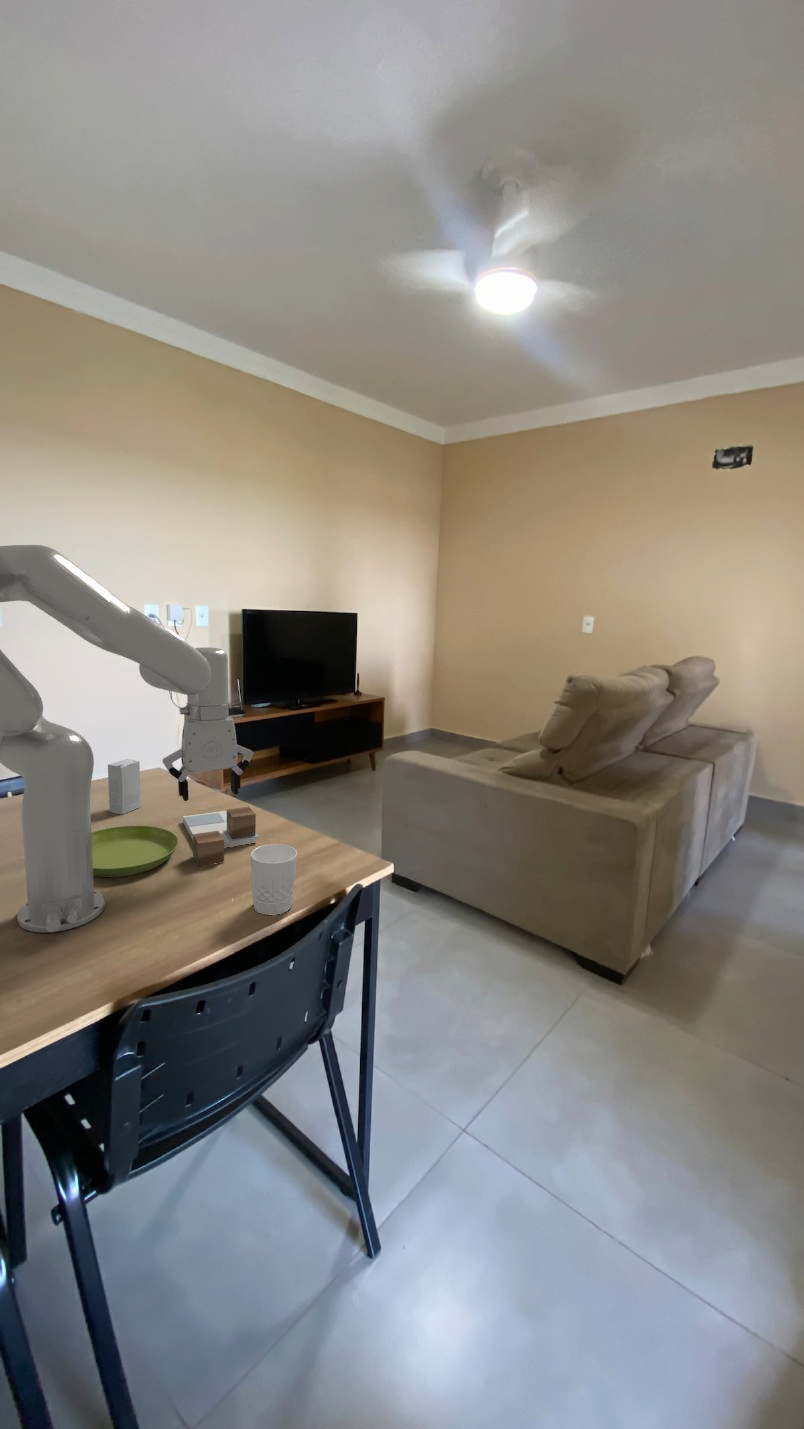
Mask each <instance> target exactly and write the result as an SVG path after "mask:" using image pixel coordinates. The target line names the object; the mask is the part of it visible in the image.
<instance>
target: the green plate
mask: <svg viewBox="0 0 804 1429" xmlns="http://www.w3.org/2000/svg"><path fill="white" fill-rule="evenodd" d="M91 832H92V854H93V876H94V877H95V876H96V877H102V878H119V877H121V878H122V877H128V876H129V877H130V876H134V875H138V874H142V873H145V872H147V871H150V870H153V869H155V868H157V867H159V866H160V865H162V864H163V863H164V862H166V861H167V860H168V859H169V858H170V857H171V856H172V855H173V854H174V852H175V851H176V849H177V848H178V846H179V844H180V843H179V842H180V840H179V837H178V835H176V834H175V833H174V832H173V831H171V830H168V829H166V828H162V827H158V826H153V825H152V826H151V825H122V826H121V825H120V826H114V827H107V828H103V829H99V830H98V829H97V830H96V831H91Z"/></svg>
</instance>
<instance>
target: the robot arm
mask: <svg viewBox="0 0 804 1429" xmlns="http://www.w3.org/2000/svg"><path fill="white" fill-rule="evenodd" d="M17 601H18V602H20V601H21V602H28V603H30V604H32V605H34V606H35V607H36V608H38V609H39V610H41V611H42V612H43V613H45V614H47V615H48V616H49V617H51V618H52V619H54V620H56V621H57V622H59V623H60V624H61V625H63V626H64V627H66V628H68V629H69V630H70V631H72V632H73V633H74V634H75V635H77V636H78V637H80V638H81V639H83V640H84V641H86V642H88V643H90V644H91V645H93V646H95V647H97V648H100V649H101V650H103V651H106V652H109V653H112V654H115V655H116V656H120V657H123V658H126V659H128V660H130V661H133V662H135V663H137V664H139V665H138V666H139V667H138V670H139V674H140V676H141V678H142V679H143V681H144V682H145V683H147V684H148V685H150V686H151V687H153V688H155V689H156V688H157V689H160V690H164V691H169V692H173V693H177V694H181V695H186V696H187V698H186V699H187V702H186V704H185V706H183V707H179V714H180V715H184V716H187V717H186V718H184V721H183V727H182V735H181V748H179V749H178V750H175V751H173V752H172V753H171V754H169V755H167V756H166V757H163V758H162V760H161V761H162V763H163V765H164V767H165V768H166V770H167V771H168V773H169V774H170V775H171V776H173V777H174V778H175V779H176V780H178V781H177V783H178V786H177V787H178V796H179V797H181V798H182V799H183V801H184V802H188V801H189V782H188V780H187V777H188V776H189V775H190V774H191V773H203V772H204V773H205V772H212V771H213V772H215V771H222V770H230V769H231V770H232V771H230V790H231V792H232V793H233V794H234V795H239V790H240V789H241V775H242V774H243V772H244V771H245V770H246V769H247V767H249V766H250V761H251V760H252V758H253V756H254V751H252V749H249V748H246V747H244V746H241V745H239V744H238V743H237V734H236V733H237V732H236V726H235V722H234V718H233V717H231V716H229V662H228V653H227V651H225V650H224V649H222V648H218V647H207V646H206V647H194V646H192V645H191V644H190V643H188V641H186V640H185V639H184V638H182V637H181V636H180V635H178V634H177V633H175V632H174V631H172V630H171V629H170V628H167V627H166V626H164V625H163V624H161V623H160V622H157V621H155V620H153V619H152V618H151V617H149V616H148V615H145V614H144V613H143V612H141V611H139V610H138V609H136V608H134V607H133V606H130V605H129V604H127V603H126V602H124V601H123V600H122V599H120V598H119V597H117V596H116V595H115V594H114V593H112V592H111V591H110V590H108V589H107V588H106V587H104V586H103V585H102V584H101V583H99V582H98V581H97V580H95V579H94V577H92V576H91V575H89V574H88V573H87V572H86V571H84V570H83V569H82V568H80V567H79V566H78V565H77V564H75V563H74V562H73V561H72V560H71V559H69V558H68V557H67V556H65V555H64V554H62V553H61V552H59V551H58V550H56V549H53V548H52V547H49V546H45V545H42V544H41V545H40V544H14V545H12V544H11V545H0V603H8V602H9V603H10V602H17ZM43 713H44V703H43V700H42V697H41V694H40V692H38V690H37V688H35V686H34V685H33V683H31V682H30V681H29V680H28V679H27V678H26V676H25V675H23V673H22V672H21V671H20V670H19V669H18V668H17V667H16V666H15V664H14V663H13V662H12V661H11V660H10V659H9V658H8V656H6V654H5V653H4V652H3V651H2V649H1V648H0V764H1V765H2V766H4V767H5V768H6V769H8V770H10V771H11V772H12V773H15V774H17V775H19V776H20V777H22V778H23V779H24V790H23V795H22V799H21V800H22V801H21V826H22V827H21V828H22V840H23V841H22V842H23V854H24V866H25V867H24V869H25V880H26V881H25V882H26V896H27V897H26V898H27V902H26V903H24V904H23V905H22V906H21V907H20V908H19V910H18V911H17V915H16V919H17V920H16V921H17V924H18V926H19V927H21V928H22V929H24V930H26V931H29V932H34V933H42V934H43V933H56V932H62V931H66V930H67V931H68V930H72V929H75V928H78V927H80V926H82V925H86V924H87V923H89V922H91V921H93V920H94V919H95V918H97V917H99V915H100V914H101V913H102V912H103V911H104V910H105V906H106V899H105V896H104V895H103V894H102V893H101V892H100V891H97V890H95V881H94V877H95V876H94V875H93V854H92V832H93V831H92V818H91V816H92V815H91V788H92V787H91V786H92V781H93V773H94V768H95V767H94V765H95V758H94V753H93V750H92V748H91V746H90V744H89V742H88V741H87V740H86V738H84V736H82V735H81V734H79V733H78V732H77V731H75V730H73V729H71V728H68V727H66V726H64V725H61V724H57V723H54V722H51V721H49V720H47V719H46V717H44V716H43ZM238 754H240V755H243V758H241V759H240V761H239V756H238ZM179 759H181V764H182V766H181V767H180V768H179V769H177V768H176V767H175V766H174V765H173V763H175V762H176V761H178V760H179Z"/></svg>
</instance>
